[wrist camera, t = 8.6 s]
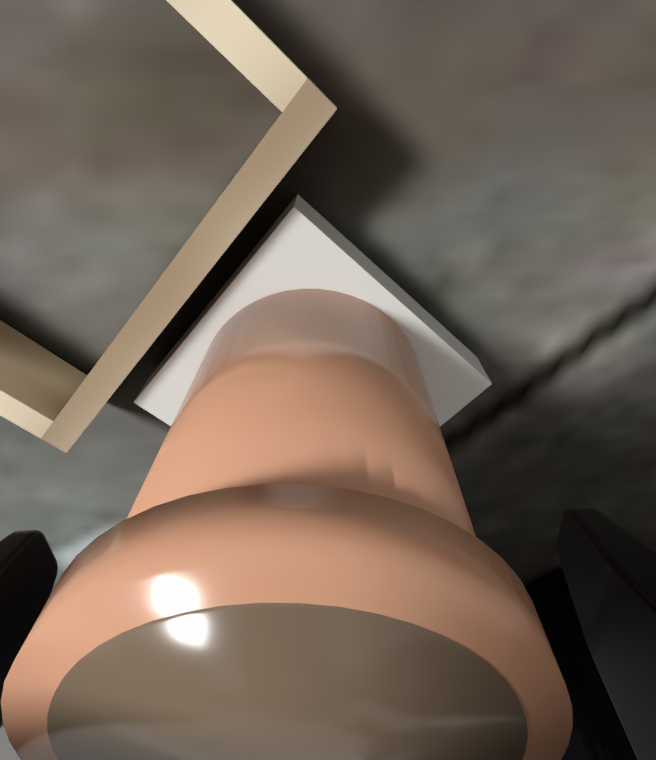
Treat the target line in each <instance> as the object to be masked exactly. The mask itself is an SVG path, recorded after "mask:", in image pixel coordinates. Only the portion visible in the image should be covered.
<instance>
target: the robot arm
mask: <svg viewBox="0 0 656 760" xmlns="http://www.w3.org/2000/svg"><path fill="white" fill-rule="evenodd" d="M557 552H558V556H559V559H560V562H561V565H562V569H563V570H558V571H554V572H552V573H550V574H549V575H547V576H545V577H544V578H542V579H540V580H539V581H537V582H535V583H534V584H532V585H530V586H529V587H527V588H525V589H526V590H527V592H528V594H529V596H530V597H531V599H532V602H533V604H534V607H535V609H536V612H537V614H538V617H539V619H540V622H541V624H542V627H543V629H544V632H545V634H546V637H547V639H548V642H549V644H550V647H551V649H552V652H553V654H554V657H555V659H556V662H557V664H558V667H559V669H560V672H561V674H562V677H563V679H564V682H565V684H566V687H567V690H568V694H569V697H570V701H571V704H572V716H573V728H572V732H571V736H570V741H569V745H568V747H567V749H566V751H565V753H564V755H563V757H562V759H561V760H656V551H654V550H653V549H652V548H650V547H649V546H647V545H646V544H645V543H643V542H642V541H640V540H639V539H638V538H636V537H635V536H633V535H632V534H631V533H629V532H628V531H626V530H625V529H624V528H622V527H621V526H619V525H618V524H617V523H615V522H614V521H612V520H611V519H610V518H608V517H607V516H605V515H604V514H603V513H601V512H600V511H598V510H597V509H595V508H593V507H590V506H581V507H569V508H567V509H566V510H565V511H564V514H563V517H562V522H561V526H560V530H559V534H558V538H557ZM57 570H58V566H57V561H56V559H55V556H54V554H53V552H52V550H51V548H50V546H49V544H48V542H47V540H46V538H45V536H44V534H43V533H42V532H40V531H37V530H29V531H17V532H14V533H12V534H10V535H9V536H7V537H6V538H4V539H3V540H2V541H0V727H1V725H2V723H3V721H2V710H1V697H2V692H3V686H4V681H5V679H6V677H7V675H8V672H9V670H10V668H11V666H12V664H13V662H14V660H15V658H16V656H17V654H18V653H19V651H20V649H21V647H22V645H23V644H24V642H25V640H26V638H27V636H28V635H29V633H30V631H31V629H32V627H33V626H34V624H35V622H36V620H37V618H38V617H39V615H40V613H41V611H42V610H43V608H44V606H45V604H46V602H47V601H48V599H49V597H50V595H51V592H52V589H53V586H54V583H55V579H56V576H57Z"/></svg>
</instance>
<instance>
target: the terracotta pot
mask: <svg viewBox="0 0 656 760" xmlns="http://www.w3.org/2000/svg"><path fill="white" fill-rule="evenodd" d="M1 710H2V721H3V724H4V727H5V730H6V733H7V736H8V739H9V741H10V743H11V744H12V746H13V748H14V749H15V751H16V753H17V754H18V756H19V757H20V759H21V760H561V759H562V757H563V755H564V753H565V751H566V749H567V747H568V745H569V741H570V736H571V732H572V728H573V716H572V704H571V701H570V697H569V694H568V690H567V687H566V684H565V682H564V679H563V677H562V674H561V672H560V669H559V667H558V664H557V662H556V659H555V657H554V654H553V652H552V649H551V647H550V644H549V642H548V639H547V637H546V634H545V632H544V629H543V627H542V624H541V622H540V619H539V617H538V614H537V612H536V609H535V607H534V604H533V602H532V599H531V597H530V596H529V594H528V592H527V590H526V589H525V587H524V585H523V583H522V581H521V580H520V578H519V577H518V576H517V575H516V574H515V572H514V571H513V570H512V569H511V568H510V566H509V565H508V564H507V563H506V562H505V560H504V559H503V558H501V557H500V556H499V555H498V554H497V553H495V552H494V551H493V550H492V549H491V548H490V547H488V546H487V545H486V544H485V543H484V542H483V541H481V540H480V539H478V538H477V537H476V535H475V532H474V529H473V526H472V523H471V520H470V517H469V514H468V511H467V508H466V505H465V502H464V499H463V496H462V493H461V490H460V487H459V484H458V481H457V478H456V475H455V472H454V469H453V465H452V462H451V459H450V456H449V453H448V450H447V447H446V444H445V441H444V438H443V435H442V432H441V429H440V426H439V423H438V420H437V417H436V414H435V411H434V408H433V405H432V402H431V399H430V396H429V393H428V390H427V387H426V384H425V381H424V378H423V374H422V371H421V368H420V365H419V362H418V360H417V357H416V354H415V351H414V349H413V347H412V345H411V344H410V342H409V340H408V338H407V337H406V336H405V334H404V333H403V332H402V330H401V329H400V328H399V327H398V326H397V325H396V324H395V323H394V322H393V321H392V320H391V319H390V318H389V317H388V316H387V315H386V314H384V313H383V312H382V311H380V310H379V309H378V308H376V307H374V306H372V305H371V304H369V303H367V302H365V301H363V300H361V299H358V298H356V297H353V296H351V295H348V294H344V293H340V292H337V291H331V290H324V289H295V290H287V291H283V292H279V293H275V294H271V295H268V296H266V297H263V298H261V299H258V300H256V301H254V302H252V303H251V304H249V305H247V306H245V307H244V308H242V309H241V310H240V311H238V312H237V313H236V314H234V315H233V316H232V317H231V318H230V319H229V320H228V321H227V322H226V323H225V324H224V325H223V326H222V327H221V328H220V330H219V331H218V333H217V334H216V335H215V337H214V338H213V340H212V342H211V344H210V346H209V348H208V350H207V352H206V354H205V356H204V358H203V360H202V362H201V364H200V367H199V369H198V371H197V373H196V375H195V377H194V379H193V381H192V383H191V385H190V387H189V390H188V392H187V394H186V396H185V398H184V400H183V402H182V404H181V406H180V408H179V410H178V413H177V415H176V417H175V419H174V421H173V423H172V425H171V427H170V429H169V431H168V433H167V436H166V438H165V440H164V442H163V444H162V446H161V448H160V450H159V452H158V454H157V456H156V459H155V461H154V463H153V465H152V467H151V469H150V471H149V473H148V475H147V477H146V479H145V482H144V484H143V486H142V488H141V490H140V492H139V494H138V496H137V498H136V500H135V502H134V505H133V507H132V509H131V511H130V513H129V515H128V517H127V519H126V520H123V521H122V522H120V523H119V524H117V525H115V526H114V527H112V528H111V529H109V530H108V531H106V532H105V533H103V534H102V535H100V536H98V537H97V538H96V539H95V540H94V541H92V542H91V543H90V544H89V545H88V546H87V547H86V548H85V549H84V550H82V551H81V552H80V553H79V554H78V555H77V556H76V557H75V558H74V560H73V561H72V562H71V564H70V565H69V566H68V568H67V569H66V570H65V572H64V573H63V574H62V575H61V577H60V579H59V581H58V583H57V584H56V586H55V588H54V590H53V592H52V593H51V595H50V597H49V599H48V601H47V602H46V604H45V606H44V608H43V610H42V611H41V613H40V615H39V617H38V618H37V620H36V622H35V624H34V626H33V627H32V629H31V631H30V633H29V635H28V636H27V638H26V640H25V642H24V644H23V645H22V647H21V649H20V651H19V653H18V654H17V656H16V658H15V660H14V662H13V664H12V666H11V668H10V670H9V672H8V675H7V677H6V679H5V681H4V686H3V692H2V697H1Z"/></svg>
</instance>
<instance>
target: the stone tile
mask: <svg viewBox="0 0 656 760" xmlns="http://www.w3.org/2000/svg"><path fill="white" fill-rule="evenodd" d="M295 289H324V290H331V291H337V292H340V293H344V294H348V295H351V296H353V297H356V298H358V299H361V300H363V301H365V302H367V303H369V304H371V305H372V306H374V307H376V308H378V309H379V310H380V311H382V312H383V313H384V314H386V315H387V316H388V317H389V318H390V319H391V320H392V321H393V322H394V323H395V324H396V325H397V326H398V327H399V328H400V329H401V330H402V332H403V333H404V334H405V336H406V337H407V338H408V340H409V342H410V344H411V345H412V347H413V349H414V351H415V354H416V357H417V360H418V362H419V365H420V368H421V371H422V374H423V378H424V381H425V384H426V387H427V390H428V393H429V396H430V399H431V402H432V405H433V408H434V411H435V414H436V417H437V420H438V423H439V426H442V425H443V424H444V423H445V422H446V421H448V420H449V419H450V418H451V417H453V416H454V415H455V414H456V413H457V412H459V411H460V410H461V409H462V408H463V407H465V406H466V405H467V404H468V403H470V402H471V401H472V400H473V399H474V398H476V397H477V396H478V395H479V394H481V393H482V392H483V391H484V390H485V389H487V388H488V387H489V386H490V385H492V383H491V381H490V379H489V378H488V376H487V374H486V372H485V371H484V369H483V367H482V365H481V363H480V362H479V360H478V358H477V357H476V356H475V355H474V354H473V353H472V352H471V351H470V350H469V349H468V348H467V347H465V346H464V345H463V344H462V343H461V342H460V341H459V340H458V339H457V338H456V337H454V336H453V335H452V334H451V333H450V332H449V331H448V330H447V329H446V328H445V327H443V326H442V325H441V324H440V323H439V322H438V321H437V320H436V319H435V318H434V317H432V316H431V315H430V314H429V313H428V312H427V311H426V310H425V309H424V308H423V307H421V306H420V305H419V304H418V303H417V302H416V301H415V300H414V299H413V298H412V297H410V296H409V295H408V294H407V293H406V292H405V291H404V290H403V289H402V288H401V287H399V286H398V285H397V284H396V283H395V282H394V281H393V280H392V279H391V278H390V277H388V276H387V275H386V274H385V273H384V272H383V271H382V270H381V269H380V268H379V267H377V266H376V265H375V264H374V263H373V262H372V261H371V260H370V259H369V258H368V257H366V256H365V255H364V254H363V253H362V252H361V251H360V250H359V249H358V248H356V247H355V246H354V245H353V244H352V243H351V242H350V241H349V240H348V239H347V238H345V237H344V236H343V235H342V234H341V233H340V232H339V231H338V230H337V229H336V228H334V227H333V226H332V225H331V224H330V223H329V222H328V221H327V220H326V219H325V218H323V217H322V216H321V215H320V214H319V213H318V212H317V211H316V210H315V209H314V208H312V207H311V206H310V205H309V204H308V203H307V202H306V201H305V200H304V199H303V198H301V197H300V196H299V195H298V194H297V195H296V197H295V198H294V199H293V200H292V202H291V203H290V204H289V205H288V207H287V208H286V209H285V210H284V211H283V213H282V214H281V215H280V216H279V218H278V219H277V220H276V221H275V223H274V224H273V225H272V226H271V227H270V229H269V230H268V231H267V232H266V234H265V235H264V236H263V237H262V239H261V240H260V241H259V242H258V243H257V245H256V246H255V247H254V248H253V250H252V251H251V252H250V253H249V254H248V256H247V257H246V258H245V259H244V261H243V262H242V263H241V264H240V266H239V267H238V268H237V269H236V270H235V272H234V273H233V274H232V275H231V277H230V278H229V279H228V280H227V282H226V283H225V284H224V285H223V286H222V288H221V289H220V290H219V291H218V293H217V294H216V295H215V296H214V298H213V299H212V300H211V301H210V302H209V304H208V305H207V306H206V307H205V309H204V310H203V311H202V312H201V314H200V315H199V316H198V317H197V318H196V320H195V321H194V322H193V323H192V325H191V326H190V327H189V328H188V330H187V331H186V332H185V333H184V334H183V336H182V337H181V338H180V339H179V341H178V342H177V343H176V344H175V345H174V347H173V348H172V349H171V350H170V352H169V353H168V354H167V355H166V357H165V358H164V359H163V360H162V361H161V363H160V364H159V365H158V366H157V368H156V369H155V370H154V371H153V373H152V374H151V375H150V377H149V378H148V380H147V382H146V383H145V385H144V386H143V388H142V390H141V391H140V393H139V394H138V396H137V398H136V399H135V401H134V402H133V403H135V404H137V405H138V406H140V407H141V408H143V409H144V410H146V411H148V412H149V413H151V414H152V415H154V416H155V417H157V418H159V419H160V420H162V421H163V422H165V423H166V424H168V425H170V426H171V425H172V423H173V421H174V419H175V417H176V415H177V413H178V410H179V408H180V406H181V404H182V402H183V400H184V398H185V396H186V394H187V392H188V390H189V387H190V385H191V383H192V381H193V379H194V377H195V375H196V373H197V371H198V369H199V367H200V364H201V362H202V360H203V358H204V356H205V354H206V352H207V350H208V348H209V346H210V344H211V342H212V340H213V338H214V337H215V335H216V334H217V333H218V331H219V330H220V328H221V327H222V326H223V325H224V324H225V323H226V322H227V321H228V320H229V319H230V318H231V317H232V316H233V315H234V314H236V313H237V312H238V311H240V310H241V309H242V308H244V307H245V306H247V305H249V304H251V303H252V302H254V301H256V300H258V299H261V298H263V297H266V296H268V295H271V294H275V293H279V292H283V291H287V290H295Z"/></svg>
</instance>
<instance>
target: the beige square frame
mask: <svg viewBox="0 0 656 760" xmlns="http://www.w3.org/2000/svg"><path fill="white" fill-rule="evenodd" d="M166 1H168V2H169V3H170V4H171V5H172V6H173V7H174V8H175V9H176V10H177V11H178V12H179V13H180V14H181V15H182V16H183V17H184V18H185V19H186V20H187V21H188V22H189V23H190V24H191V25H192V26H193V27H194V28H195V29H197V30H198V31H199V32H200V33H201V34H202V35H203V36H204V37H205V38H206V39H207V40H208V41H209V42H210V43H211V44H212V45H213V46H214V47H215V48H216V49H217V50H218V51H219V52H220V53H221V54H222V55H223V56H224V57H225V58H227V59H228V60H229V61H230V62H231V63H232V64H233V65H234V66H235V67H236V68H237V69H238V70H239V71H240V72H241V73H242V74H243V75H244V76H245V77H246V78H247V79H248V80H249V81H250V82H251V83H252V84H253V85H254V86H256V87H257V88H258V89H259V90H260V91H261V92H262V93H263V94H264V95H265V96H266V97H267V98H268V99H269V100H270V101H271V102H272V103H273V104H274V105H275V106H276V107H277V108H278V109H279V110H280V111H281V112H282V113H281V115H280V116H279V118H278V119H277V120H276V122H275V123H274V124H273V126H272V127H271V128H270V130H269V131H268V132H267V134H266V135H265V136H264V138H263V139H262V140H261V142H260V143H259V145H258V146H257V147H256V149H255V150H254V151H253V153H252V154H251V155H250V157H249V158H248V159H247V161H246V162H245V163H244V165H243V166H242V167H241V169H240V170H239V172H238V173H237V174H236V176H235V177H234V178H233V180H232V181H231V182H230V184H229V185H228V186H227V188H226V189H225V190H224V192H223V193H222V194H221V196H220V197H219V199H218V200H217V201H216V203H215V204H214V205H213V207H212V208H211V209H210V211H209V212H208V213H207V215H206V216H205V217H204V219H203V220H202V221H201V223H200V224H199V226H198V227H197V228H196V230H195V231H194V232H193V234H192V235H191V236H190V238H189V239H188V240H187V242H186V243H185V244H184V246H183V247H182V248H181V250H180V251H179V252H178V254H177V255H176V257H175V258H174V259H173V261H172V262H171V263H170V265H169V266H168V267H167V269H166V270H165V271H164V273H163V274H162V275H161V277H160V278H159V279H158V281H157V282H156V284H155V285H154V286H153V288H152V289H151V290H150V292H149V293H148V294H147V296H146V297H145V298H144V300H143V301H142V302H141V304H140V305H139V306H138V308H137V309H136V311H135V312H134V313H133V315H132V316H131V317H130V319H129V320H128V321H127V323H126V324H125V325H124V327H123V328H122V329H121V331H120V332H119V333H118V335H117V336H116V338H115V339H114V340H113V342H112V343H111V344H110V346H109V347H108V348H107V350H106V351H105V352H104V354H103V355H102V356H101V358H100V359H99V360H98V362H97V363H96V365H95V366H94V367H93V369H92V370H91V371H90V373H89V374H88V375H86V374H84V373H83V372H81V371H79V370H78V369H76V368H75V367H73V366H72V365H70V364H68V363H67V362H65V361H64V360H62V359H61V358H59V357H57V356H56V355H54V354H53V353H51V352H50V351H48V350H46V349H45V348H43V347H42V346H40V345H39V344H37V343H35V342H34V341H32V340H31V339H29V338H28V337H26V336H24V335H23V334H21V333H20V332H18V331H16V330H15V329H13V328H12V327H10V326H9V325H7V324H5V323H4V322H2V321H1V320H0V416H2V417H4V418H6V419H7V420H9V421H11V422H13V423H14V424H16V425H18V426H20V427H21V428H23V429H25V430H27V431H28V432H30V433H32V434H34V435H35V436H37V437H39V438H41V439H43V440H44V441H46V442H48V443H50V444H51V445H53V446H55V447H57V448H58V449H60V450H62V451H64V452H65V453H67V451H68V450H69V449H70V448H71V446H72V445H73V444H74V443H75V441H76V440H77V439H78V438H79V436H80V435H81V434H82V432H83V431H84V430H85V429H86V427H87V426H88V425H89V424H90V422H91V421H92V420H93V418H94V417H95V416H96V415H97V413H98V412H99V411H100V410H101V408H102V407H103V406H104V404H105V403H106V402H107V401H108V399H109V398H110V397H111V396H112V394H113V393H114V392H115V390H116V389H117V388H118V387H119V385H120V384H121V383H122V382H123V380H124V379H125V378H126V377H127V375H128V374H129V373H130V371H131V370H132V369H133V368H134V366H135V365H136V364H137V363H138V361H139V360H140V359H141V357H142V356H143V355H144V354H145V352H146V351H147V350H148V349H149V347H150V346H151V345H152V343H153V342H154V341H155V340H156V338H157V337H158V336H159V335H160V333H161V332H162V331H163V329H164V328H165V327H166V326H167V324H168V323H169V322H170V321H171V319H172V318H173V317H174V316H175V314H176V313H177V312H178V310H179V309H180V308H181V307H182V305H183V304H184V303H185V302H186V300H187V299H188V298H189V296H190V295H191V294H192V293H193V291H194V290H195V289H196V288H197V286H198V285H199V284H200V282H201V281H202V280H203V279H204V277H205V276H206V275H207V274H208V272H209V271H210V270H211V269H212V267H213V266H214V265H215V263H216V262H217V261H218V260H219V258H220V257H221V256H222V255H223V253H224V252H225V251H226V249H227V248H228V247H229V246H230V244H231V243H232V242H233V241H234V239H235V238H236V237H237V235H238V234H239V233H240V232H241V230H242V229H243V228H244V227H245V225H246V224H247V223H248V221H249V220H250V219H251V218H252V216H253V215H254V214H255V213H256V211H257V210H258V209H259V208H260V206H261V205H262V204H263V202H264V201H265V200H266V199H267V197H268V196H269V195H270V194H271V192H272V191H273V190H274V188H275V187H276V186H277V185H278V183H279V182H280V181H281V180H282V178H283V177H284V176H285V174H286V173H287V172H288V171H289V169H290V168H291V167H292V166H293V164H294V163H295V162H296V160H297V159H298V158H299V157H300V155H301V154H302V153H303V152H304V150H305V149H306V148H307V147H308V145H309V144H310V143H311V141H312V140H313V139H314V138H315V136H316V135H317V134H318V133H319V131H320V130H321V129H322V127H323V126H324V125H325V124H326V122H327V121H328V120H329V119H330V117H331V116H332V115H333V113H334V112H335V111H336V110H337V107H336V106H335V105H334V104H333V102H332V101H331V100H330V99H329V98H328V97H327V96H326V95H325V94H324V93H323V92H322V91H321V90H320V89H319V88H318V87H317V86H316V85H315V84H314V83H313V82H312V81H311V80H310V79H309V78H308V77H307V76H306V75H305V74H304V73H303V72H302V71H301V70H300V69H299V68H298V67H297V66H296V65H295V64H294V63H293V62H292V61H291V60H290V59H289V58H288V57H287V56H286V55H285V54H284V53H283V52H282V51H281V50H280V49H279V48H278V46H277V45H276V44H275V43H274V42H273V41H272V40H271V39H270V38H269V37H268V36H267V35H266V34H265V33H264V32H263V31H262V30H261V29H260V28H259V27H258V26H257V25H256V24H255V23H254V22H253V21H252V20H251V19H250V18H249V17H248V16H247V15H246V14H245V13H244V12H243V11H242V10H241V9H240V8H239V7H238V6H237V5H236V4H235V3H234V2H233V1H232V0H166Z"/></svg>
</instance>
